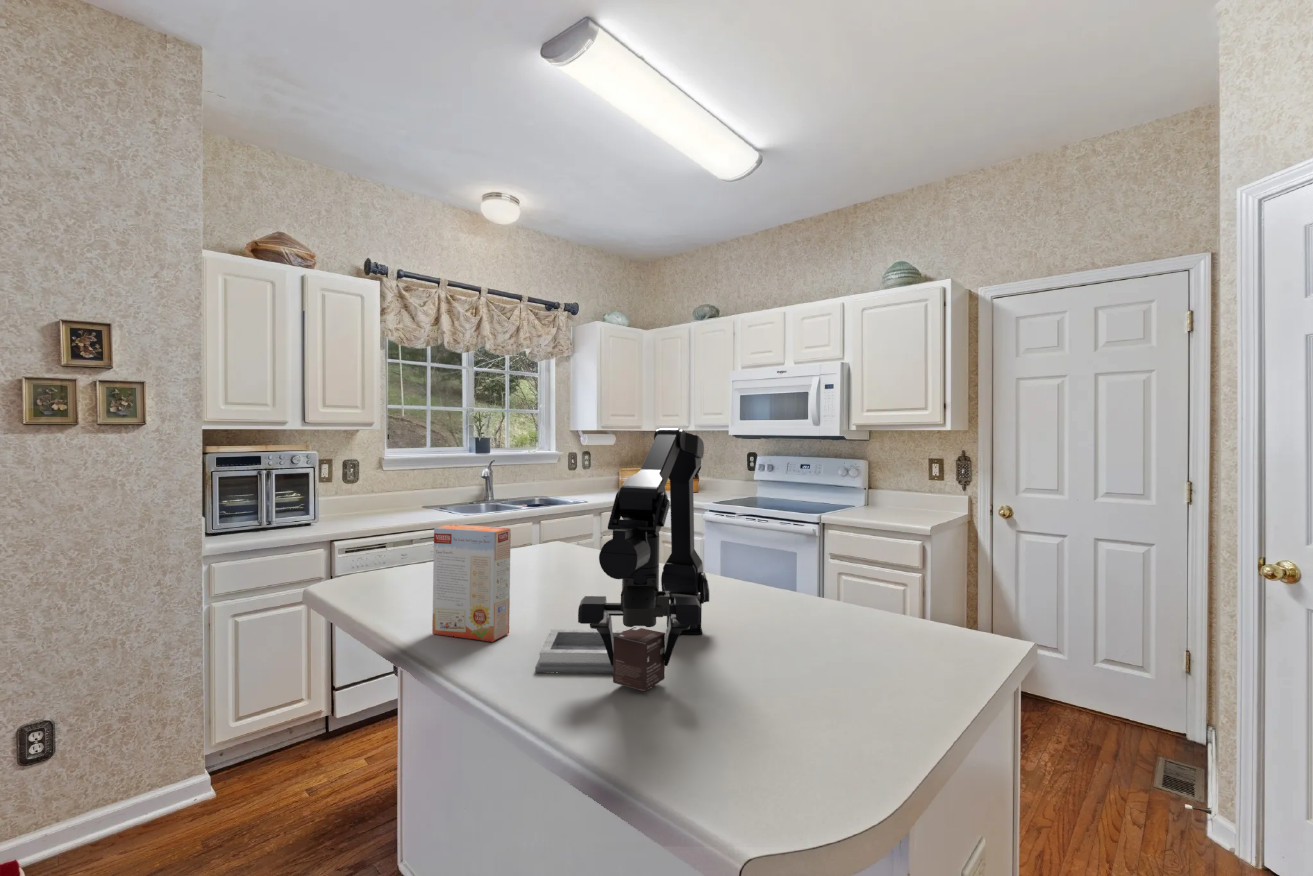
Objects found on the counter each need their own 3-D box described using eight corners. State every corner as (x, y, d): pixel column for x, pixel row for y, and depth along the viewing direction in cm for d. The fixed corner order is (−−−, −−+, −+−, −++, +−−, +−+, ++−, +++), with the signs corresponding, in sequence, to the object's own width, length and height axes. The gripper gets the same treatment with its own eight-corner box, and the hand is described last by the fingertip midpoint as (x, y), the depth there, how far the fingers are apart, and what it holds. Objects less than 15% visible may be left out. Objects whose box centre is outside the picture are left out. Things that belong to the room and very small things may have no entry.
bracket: (624, 644, 112) (624, 628, 112) (620, 673, 98) (621, 655, 98) (549, 643, 112) (549, 627, 112) (535, 673, 98) (535, 654, 98)
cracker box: (510, 633, 117) (512, 527, 117) (492, 643, 111) (494, 531, 112) (451, 625, 122) (452, 522, 122) (430, 634, 116) (432, 526, 116)
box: (644, 693, 89) (645, 643, 89) (611, 683, 92) (612, 636, 92) (665, 679, 94) (666, 632, 94) (633, 670, 97) (634, 625, 97)
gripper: (574, 576, 85) (572, 686, 85) (705, 577, 85) (704, 687, 85) (582, 560, 96) (581, 657, 96) (698, 561, 96) (697, 658, 96)
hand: (639, 665), depth 93 cm, fingers closed on box, 8 cm apart
